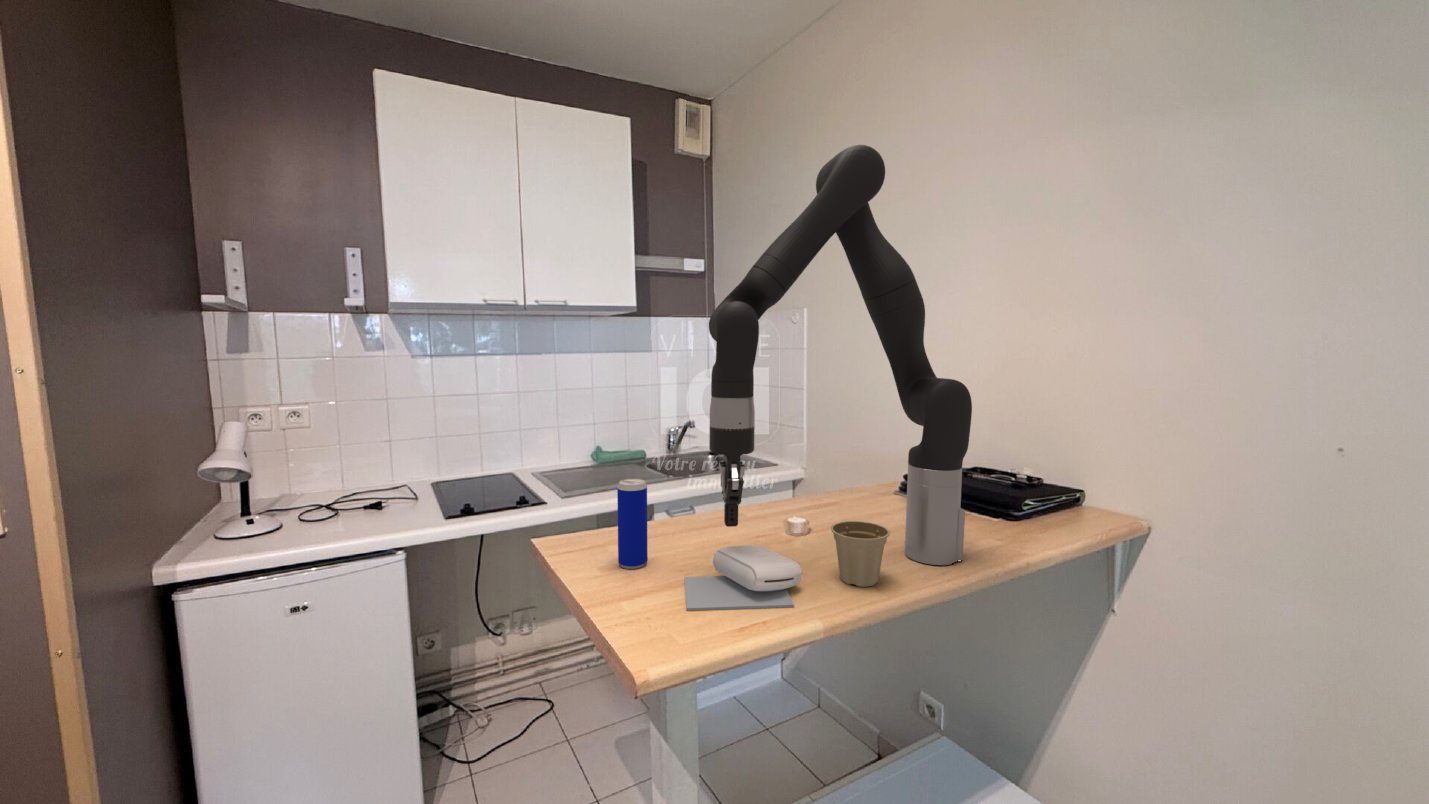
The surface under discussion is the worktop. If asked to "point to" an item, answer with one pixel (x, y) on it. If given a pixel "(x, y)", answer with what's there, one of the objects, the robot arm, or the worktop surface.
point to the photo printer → (757, 567)
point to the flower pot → (859, 551)
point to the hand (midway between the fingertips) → (731, 524)
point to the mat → (730, 595)
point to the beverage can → (632, 523)
